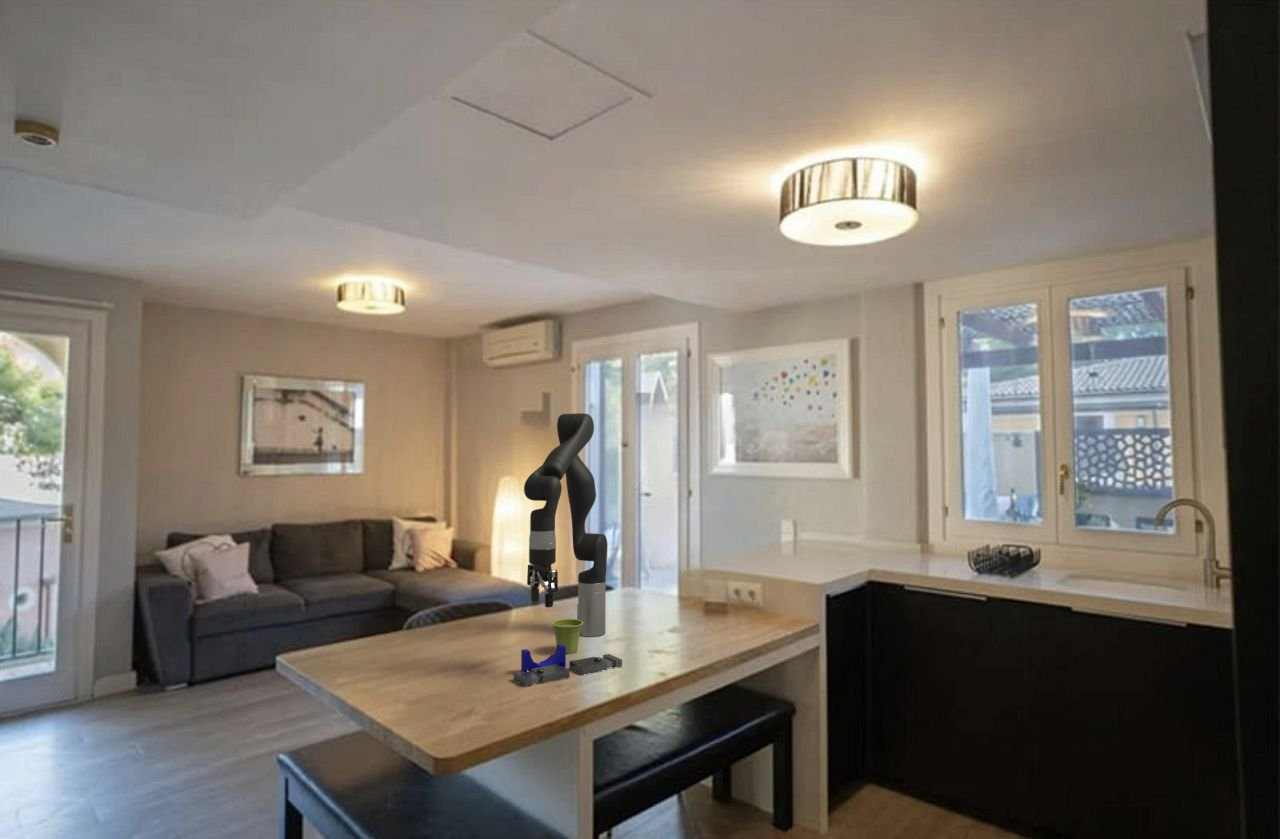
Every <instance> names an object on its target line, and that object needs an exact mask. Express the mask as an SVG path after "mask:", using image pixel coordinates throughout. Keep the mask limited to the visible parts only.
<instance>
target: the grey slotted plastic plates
mask: <svg viewBox="0 0 1280 839" xmlns="http://www.w3.org/2000/svg"><path fill="white" fill-rule="evenodd" d="M621 666H622V667H623V659H622V658H620V657H617V656H614V655H612V654H609V653H606V654H602V657H600V656H599V657H598V656H597V657H596V656H591V657H587V658H586V657H585V658H580V659H575V660H571V661H569V669H568V668H567V667H566V668H564V667H562V666H560V665H558V664H554V665H549V666H544V667H538V668H533V669H531V672H527V673H523V672H522V671H521V670H519V671H514V672H513V681H514V680H515V682H516V681H517V682H516V683H518V682H519V683H520V684H519V683H518V684H519V685H521V684H522V685H523V687H524V686H525V687H524V688H527V687H526V686H528V687H532V686H533V685H534V683H536V684H540V683H539V682H542V683H541V684H545V683H544V682H547V683H549V682H548V681H552V682H554V681H553V680H557V679H562V678H566V679H569V678H570V670H571V669H572V670H571V671H573V670H574V671H573V672H575V671H576V672H575V673H577V672H578V673H577V674H579V673H580V674H579V675H581V674H582V675H581V676H585V675H584V674H586V675H589V674H588V673H590V674H595V673H599V672H598V671H600V672H603V671H602V670H605V671H608V669H610V668H609V667H613V668H615V667H619V668H622V667H621ZM607 668H608V669H607ZM594 672H595V673H594ZM568 677H569V678H568ZM562 680H563V679H562ZM557 681H558V680H557ZM522 685H521V686H522ZM531 685H532V686H531Z"/></svg>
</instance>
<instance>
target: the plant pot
mask: <svg viewBox="0 0 1280 839" xmlns="http://www.w3.org/2000/svg"><path fill="white" fill-rule="evenodd" d="M582 625H583V622H582V621H581V620H577V618H576V619H575V618H565V619H563V618H562V619H557V620H554V621H553V622H552V626H553V630H554V634H555V642H556V646H557V645H559V644H562V645H564V646H566V654H568V655H571V654H570V653H572V654H575V653H577V652H578V648H579V642H580V641H579V640H580V636H581V635H580V630H581V627H582Z"/></svg>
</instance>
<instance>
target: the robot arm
mask: <svg viewBox="0 0 1280 839" xmlns="http://www.w3.org/2000/svg"><path fill="white" fill-rule="evenodd" d="M556 428H557V437H558V442H559V445H558V446H556V447H554V448H553V449H552V450H551V452H549V453H548V455H547V456H546V457H545V460H544V462H543V463H542V465H541V466H539V467H538V468H536V469H535V470H534V471H533V472H532V473H530V475H529V476H528V477H527V478H526V480H525V482H524V484H523V486H524V487H523V493H524V496H525V498H527V499H528V500H530V501H537V502H538V501H540V502H541V501H542V502H545V504H544V506H543V507H542V508H538V509H537V508H536V509H533V510H532V511H531V513H530V516H529V517H530V520H529V521H530V522H529V539H528V541H529V542H528V562H529V564H527V576H526V577H527V578H526V580H527V581H526V585H527V586H529V588H530V594H531V595H530V601H531V602H532V603H535V602H536V603H538V602H539V601H540V586H541V587H542V588H543V591H544V592H545V593H544V606H545V608H552V607H554V594H555V593H558V591H559V584H558V582H559V581H558V580H559V577H558V574H559V573H558V569H552V565H553V564H555V563H556V560H557V556H556V555H557V553H556V552H557V551H556V548H557V547H556V546H557V544H556V542H557V536H556V514H557V509H558V505H559V501H560V498H561V495H562V489H563V488H562V486H563V485H562V482H561V480H562V479H563V478H564V476H565V481H566V489H567V497H568V504H569V509H570V517H571V529H572V531H571V534H572V548H573V554H574V557H575V559H576V560H578V561H585V562H593V565H592V567H591V568H589V569H587V570H583V571H581V572H579V573H578V576H577V578H578V579H577V584H578V586H577V588H578V589H577V590H578V591H577V593H578V594H577V602H578V603H577V605H576V606H577V607H576V610H577V612H576V616H577V617H576V619H577V620H581V621H582V622H583V625H582V627H581V630H580V636H583V637H600V636H604V635H605V634H606V610H607V609H606V606H607V605H606V603H607V602H606V598H607V597H606V590H607V589H606V583H607V582H606V578H607V577H606V576H607V566H608V565H607V564H608V562H607V560H608V539H607V536H606V535H605V534H604V533H593V532H590V533H589V532H588V533H587V532H586V527H585V526H586V525H585V524H586V520H587V518H588V515H589V514H590V511H591V509H592V508H593V506H594V504H595V502H596V498H597V492H596V490H597V489H596V483H595V478H594V475H593V474H592V472H591V471H590V469H589V468H588V466H587V465H586V464H585V462H583V461H582V459H581V457H580V456H579V453H580V452H581V451H582V450H583V449H584V447H586V446H587V444H588V443H589V442H590V440H591V439H592V437H593V435H594V432H595V431H594V430H595V424H594V420H593V417H592V416H591V415H590V414H589V413H582V412H581V413H580V412H579V413H563V414H560V415H559V416H558V418H557V423H556Z"/></svg>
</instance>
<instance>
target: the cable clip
mask: <svg viewBox="0 0 1280 839" xmlns="http://www.w3.org/2000/svg"><path fill="white" fill-rule="evenodd" d="M555 649H556V650H555V652H554V654H550V656H548V657H547V658H546V659H544V660H541V661H539V662H535V661H534V660H533V658H532V655H531V651H530V650H529V649H527V648H525V649H523V648H522V649H521V651H520V652H521V659H520V660H521V662H520V663H521V664H520V667H521V668H520V669H521V670H520V671H521V672H522V671H523V672H524V673H527V670H528V671H529V672H531V669H533V668H538V667H544V666H549V665H554V664H558V665H560V666H562V667H566V666H567V664H566V663H567V658H566V656H567V653H566V646H564V645H562V644H559V645H557V644H556V648H555ZM566 668H567V667H566Z"/></svg>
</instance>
